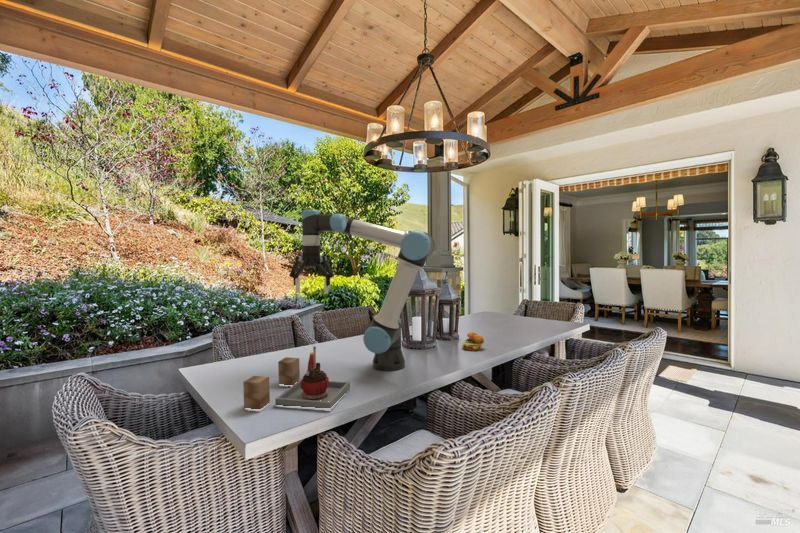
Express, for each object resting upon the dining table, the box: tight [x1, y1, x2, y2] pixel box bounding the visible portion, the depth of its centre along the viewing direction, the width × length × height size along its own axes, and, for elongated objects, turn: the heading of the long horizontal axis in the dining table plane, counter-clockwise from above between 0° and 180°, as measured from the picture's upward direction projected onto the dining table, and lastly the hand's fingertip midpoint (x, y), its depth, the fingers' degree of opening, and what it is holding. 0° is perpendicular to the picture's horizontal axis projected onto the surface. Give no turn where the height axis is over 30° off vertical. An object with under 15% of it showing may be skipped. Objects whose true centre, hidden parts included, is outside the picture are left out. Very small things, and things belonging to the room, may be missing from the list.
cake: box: [300, 345, 330, 399], centre depth 138 cm, size 11×9×18 cm
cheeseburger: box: [461, 331, 485, 352], centre depth 205 cm, size 10×11×10 cm
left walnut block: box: [242, 375, 271, 409], centre depth 131 cm, size 6×6×10 cm
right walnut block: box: [277, 357, 301, 385], centre depth 153 cm, size 6×6×10 cm
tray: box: [274, 378, 351, 408], centre depth 139 cm, size 20×20×3 cm
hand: (312, 293), depth 169 cm, fingers open, 13 cm apart
